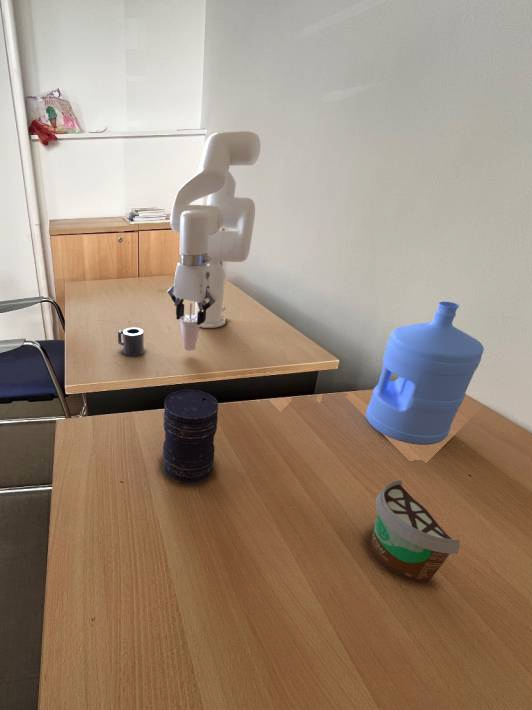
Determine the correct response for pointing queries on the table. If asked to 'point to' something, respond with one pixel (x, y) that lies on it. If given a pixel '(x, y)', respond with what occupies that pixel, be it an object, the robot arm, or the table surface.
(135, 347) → the mug
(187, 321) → the smoothie
